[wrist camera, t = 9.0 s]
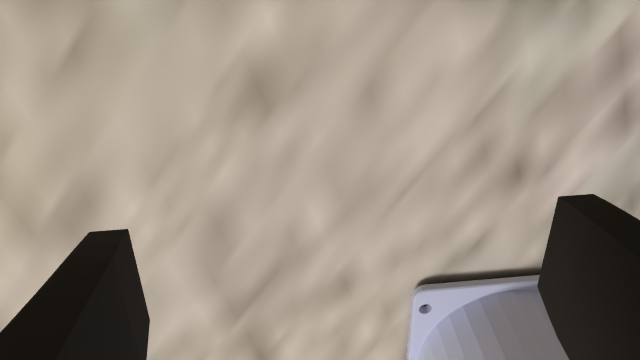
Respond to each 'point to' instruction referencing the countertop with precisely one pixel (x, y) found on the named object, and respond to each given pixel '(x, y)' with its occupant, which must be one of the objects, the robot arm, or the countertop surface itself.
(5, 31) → the countertop surface
